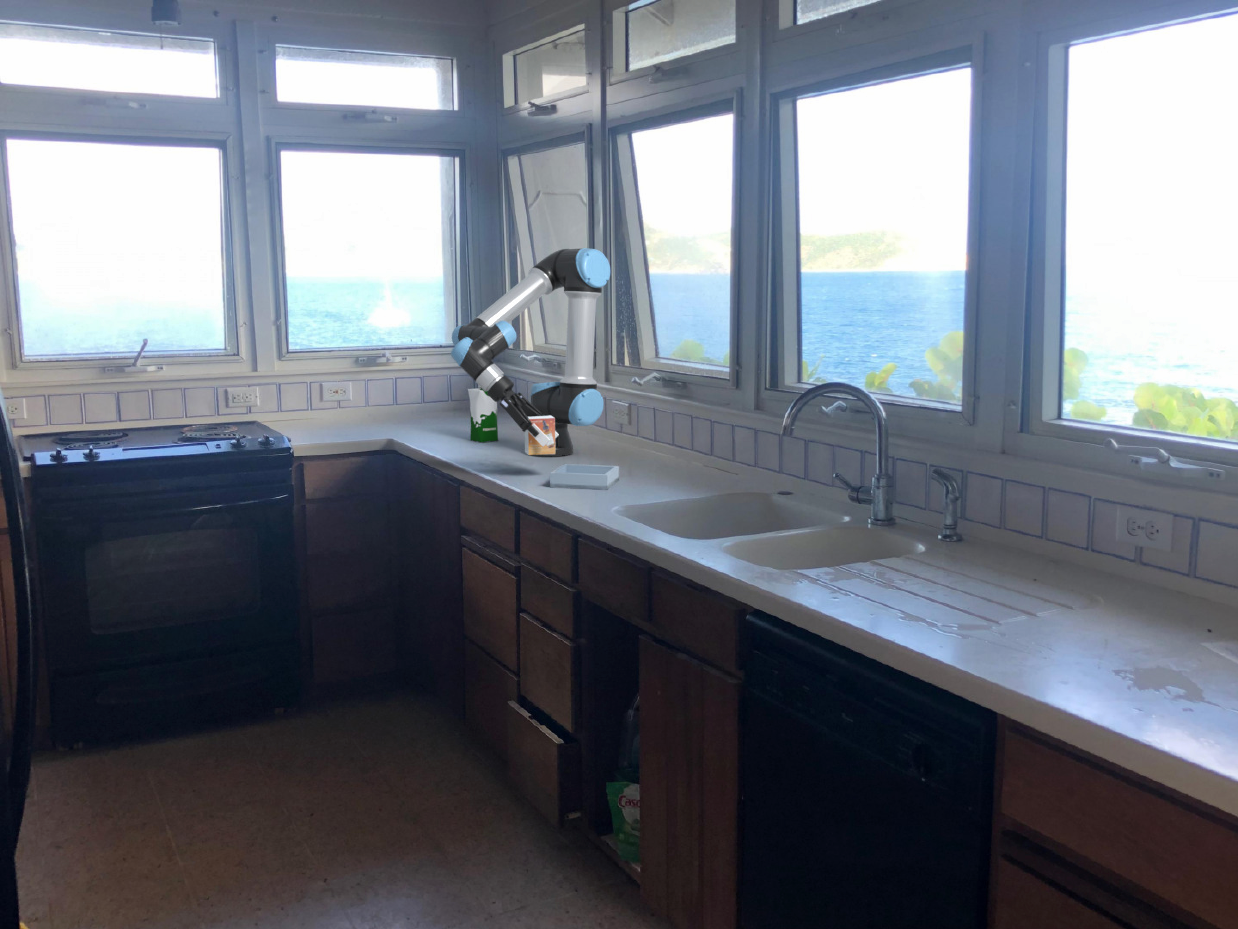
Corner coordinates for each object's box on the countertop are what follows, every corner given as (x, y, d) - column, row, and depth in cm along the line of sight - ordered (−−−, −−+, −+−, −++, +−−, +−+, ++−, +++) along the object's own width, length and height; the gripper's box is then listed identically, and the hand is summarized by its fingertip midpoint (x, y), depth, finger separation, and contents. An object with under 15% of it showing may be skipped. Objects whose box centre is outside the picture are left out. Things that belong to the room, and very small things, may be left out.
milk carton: (480, 443, 369) (479, 384, 366) (466, 440, 376) (464, 382, 372) (501, 440, 375) (500, 383, 371) (487, 437, 381) (486, 381, 378)
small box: (528, 455, 304) (527, 418, 302) (524, 452, 309) (523, 416, 307) (556, 454, 306) (555, 417, 304) (552, 451, 311) (551, 414, 309)
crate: (564, 477, 307) (563, 464, 306) (618, 480, 303) (618, 466, 302) (550, 487, 293) (549, 472, 292) (607, 489, 290) (607, 475, 289)
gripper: (499, 388, 318) (552, 443, 318) (474, 397, 298) (531, 456, 297) (515, 370, 316) (569, 425, 315) (491, 378, 296) (549, 437, 295)
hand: (551, 440), depth 306 cm, fingers closed on small box, 8 cm apart
